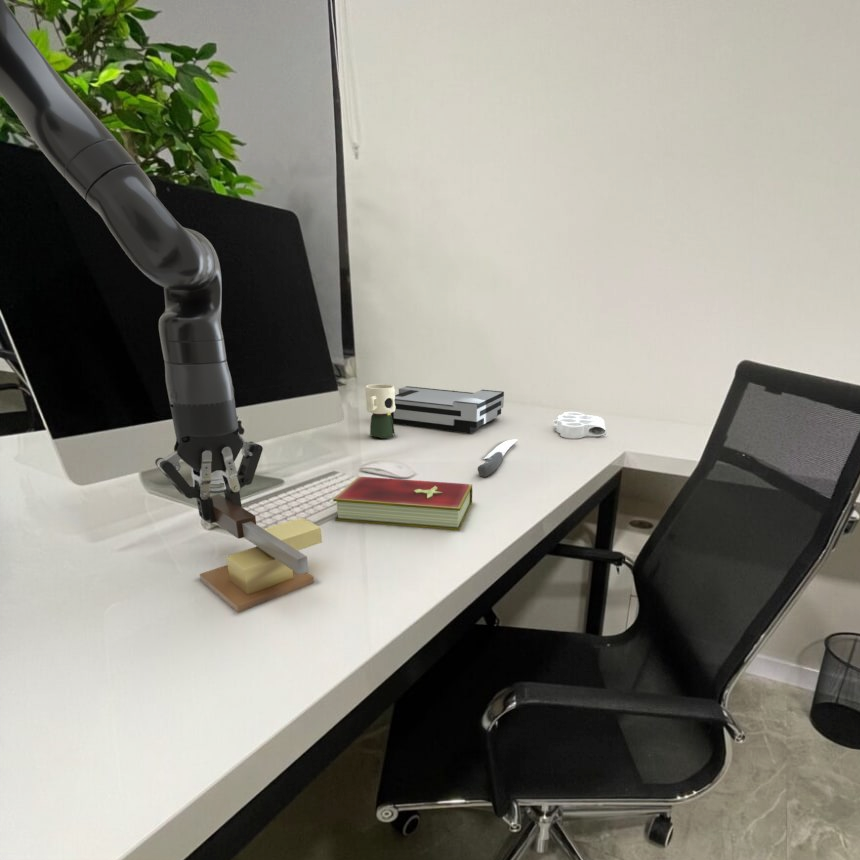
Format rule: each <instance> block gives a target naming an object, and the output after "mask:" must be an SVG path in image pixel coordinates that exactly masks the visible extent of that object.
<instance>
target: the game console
mask: <svg viewBox="0 0 860 860" xmlns="http://www.w3.org/2000/svg"><path fill="white" fill-rule="evenodd" d="M504 399H505V391H503V390H502V391H501V390H490V389H479V390H478V391H475V392H469V391H459V390H449V389H439V388H429V387H421V386H419V387H418V386H410V385H409V386H408V385H406V386H404V387H399V388H398V394H395V406H396V409H395V411H394V412H392V413H391V416H392V420H393V425H397V426H407V427H414V428H423V429H424V428H425V429H430V430H431V429H432V430H437V431H443V432H444V431H446V432H452V433H453V432H454V433H461V434H472V433H473V432H476V431H478V430H479V427H481V426H483V425H485V424H489V423H491V422H492V421H494V420H496V419H497V417H498V416H500V415H501V414H502V409H503V408H504V407H505V406H504V404H505V403H504V402H505V400H504Z"/></svg>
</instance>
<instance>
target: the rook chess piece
mask: <svg viewBox="0 0 860 860" xmlns="http://www.w3.org/2000/svg"><path fill="white" fill-rule="evenodd" d="M220 483H223V480H222V477H221V474H220V473H219V471H218V470H217V471H215V472H213V473H211V482H210V484H220ZM224 490H226V487H225V486H219V487H210V493H222V492H224Z"/></svg>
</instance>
